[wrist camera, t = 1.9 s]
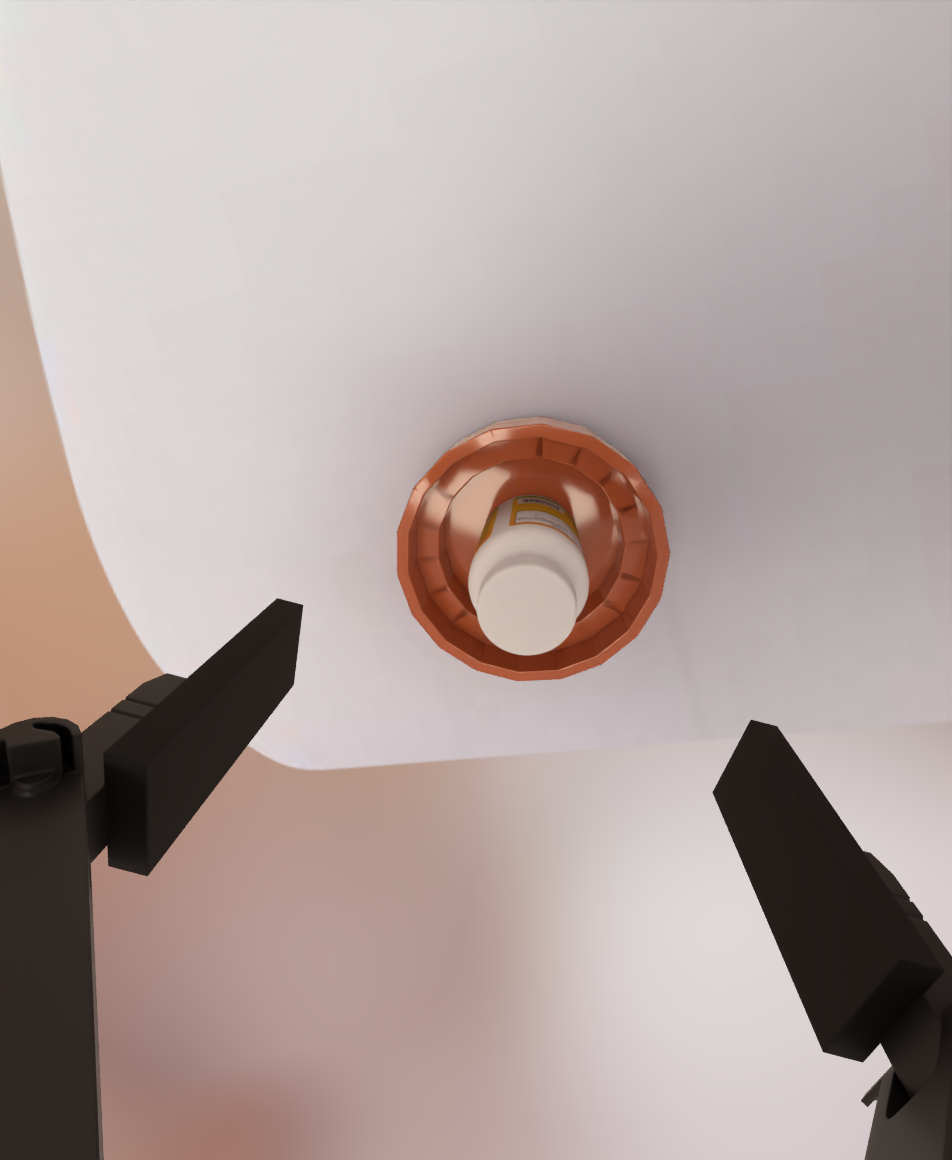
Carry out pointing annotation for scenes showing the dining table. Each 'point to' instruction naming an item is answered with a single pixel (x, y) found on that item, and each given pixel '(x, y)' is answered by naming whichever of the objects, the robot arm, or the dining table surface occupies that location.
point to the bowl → (600, 512)
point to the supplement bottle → (528, 575)
